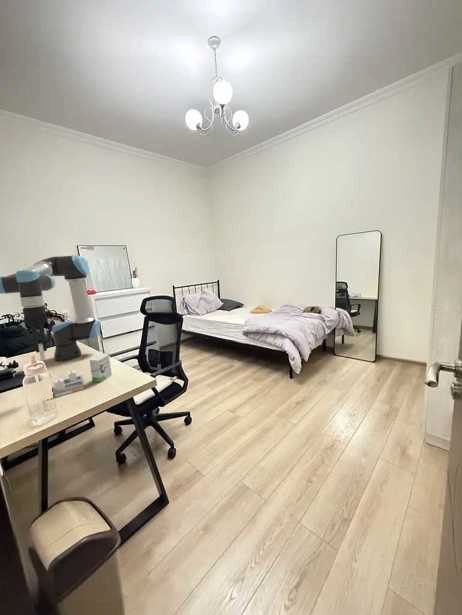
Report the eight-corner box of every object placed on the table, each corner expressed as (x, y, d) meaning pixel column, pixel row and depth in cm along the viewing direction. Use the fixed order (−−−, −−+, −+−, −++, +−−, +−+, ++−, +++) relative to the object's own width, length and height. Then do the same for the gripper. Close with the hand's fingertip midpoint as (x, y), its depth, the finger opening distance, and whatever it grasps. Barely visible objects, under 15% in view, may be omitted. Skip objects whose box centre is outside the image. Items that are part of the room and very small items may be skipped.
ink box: (103, 374, 133) (100, 353, 131) (112, 375, 132) (109, 353, 130) (92, 382, 124) (88, 359, 122) (101, 382, 123) (97, 360, 121)
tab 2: (69, 380, 124) (68, 370, 123) (76, 378, 126) (75, 368, 125) (70, 383, 121) (68, 373, 120) (77, 381, 123) (75, 371, 122)
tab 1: (57, 388, 116) (55, 378, 115) (64, 386, 117) (62, 376, 117) (57, 392, 113) (55, 381, 112) (65, 390, 114) (63, 379, 113)
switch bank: (54, 386, 122) (53, 382, 122) (82, 379, 128) (82, 375, 128) (54, 397, 111) (53, 392, 111) (85, 389, 118) (84, 384, 117)
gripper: (12, 309, 101) (23, 364, 104) (51, 305, 108) (60, 357, 112) (14, 307, 107) (25, 360, 110) (52, 303, 114) (60, 353, 118)
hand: (43, 358), depth 111 cm, fingers closed
